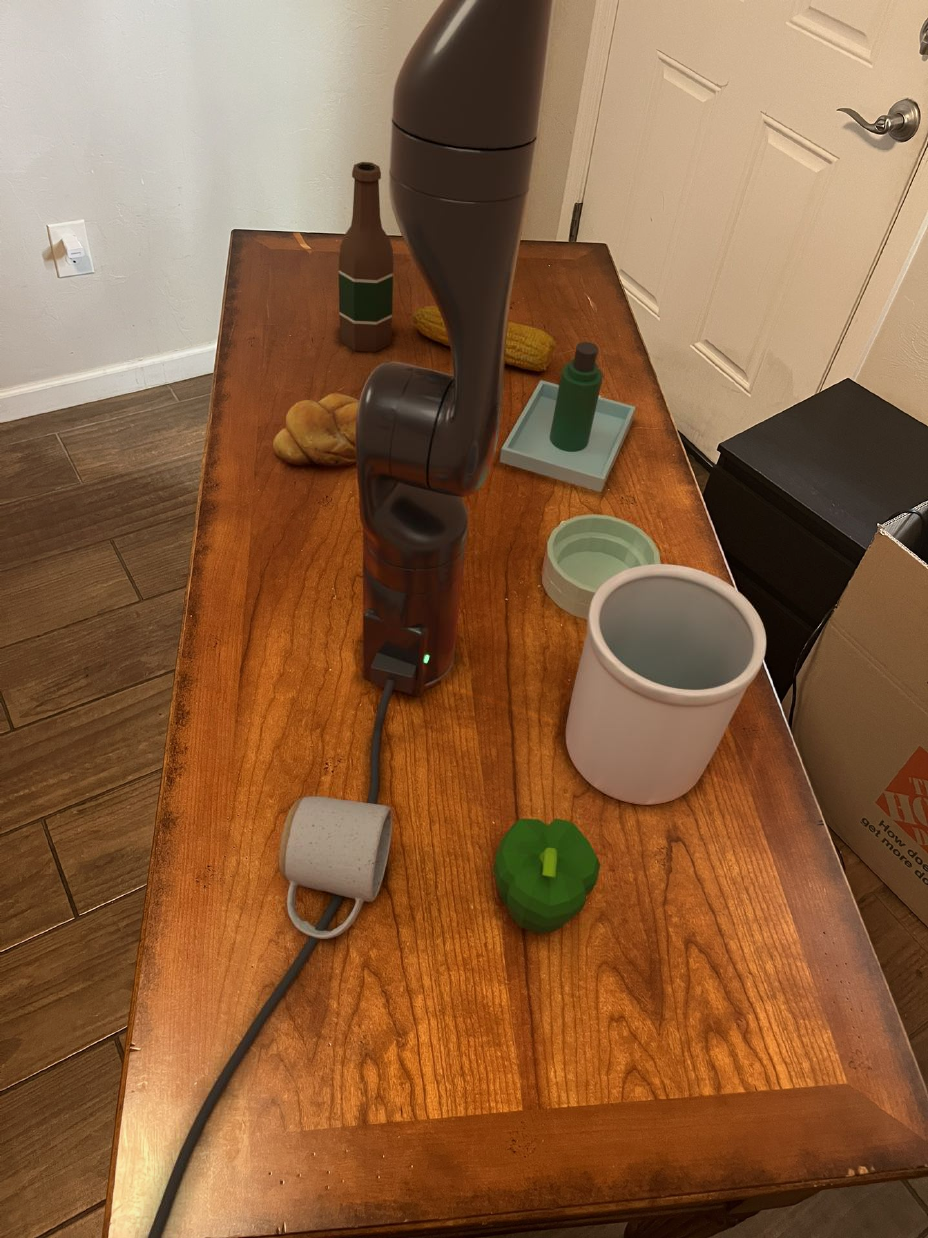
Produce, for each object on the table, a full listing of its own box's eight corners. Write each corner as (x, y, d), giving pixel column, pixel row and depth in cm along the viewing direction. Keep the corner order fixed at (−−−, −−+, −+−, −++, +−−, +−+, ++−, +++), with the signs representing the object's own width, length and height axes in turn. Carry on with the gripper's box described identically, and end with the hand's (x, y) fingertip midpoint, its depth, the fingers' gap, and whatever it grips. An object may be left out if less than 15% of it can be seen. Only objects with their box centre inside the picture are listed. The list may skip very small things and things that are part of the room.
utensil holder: (533, 702, 93) (560, 580, 80) (663, 667, 98) (710, 546, 84) (597, 829, 85) (640, 716, 71) (738, 785, 89) (803, 670, 76)
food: (554, 363, 133) (561, 326, 129) (542, 384, 130) (548, 346, 125) (418, 323, 137) (420, 285, 133) (402, 342, 134) (404, 304, 129)
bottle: (582, 456, 119) (602, 364, 109) (544, 445, 120) (561, 352, 110) (592, 434, 122) (613, 342, 112) (556, 423, 123) (573, 331, 113)
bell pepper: (516, 837, 83) (531, 777, 76) (599, 885, 81) (623, 828, 73) (467, 913, 78) (478, 857, 71) (555, 967, 76) (575, 914, 68)
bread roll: (277, 480, 112) (272, 426, 106) (269, 430, 118) (264, 376, 112) (384, 471, 115) (385, 417, 109) (370, 422, 121) (371, 368, 115)
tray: (600, 495, 115) (604, 479, 113) (499, 465, 117) (501, 448, 115) (631, 422, 125) (635, 406, 123) (538, 395, 128) (540, 379, 126)
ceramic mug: (302, 818, 83) (296, 773, 77) (393, 835, 82) (395, 790, 77) (267, 934, 76) (258, 894, 70) (366, 953, 76) (366, 914, 70)
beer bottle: (330, 328, 134) (325, 156, 117) (381, 319, 137) (384, 149, 119) (349, 358, 130) (347, 183, 112) (401, 348, 133) (408, 176, 115)
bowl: (635, 640, 100) (645, 608, 96) (526, 604, 102) (532, 572, 98) (660, 565, 108) (670, 534, 104) (558, 534, 110) (565, 502, 106)
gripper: (472, 36, 90) (459, 204, 102) (414, 83, 81) (407, 261, 93) (546, 52, 89) (524, 220, 101) (496, 102, 80) (478, 280, 92)
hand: (468, 240), depth 97 cm, fingers open, 8 cm apart
